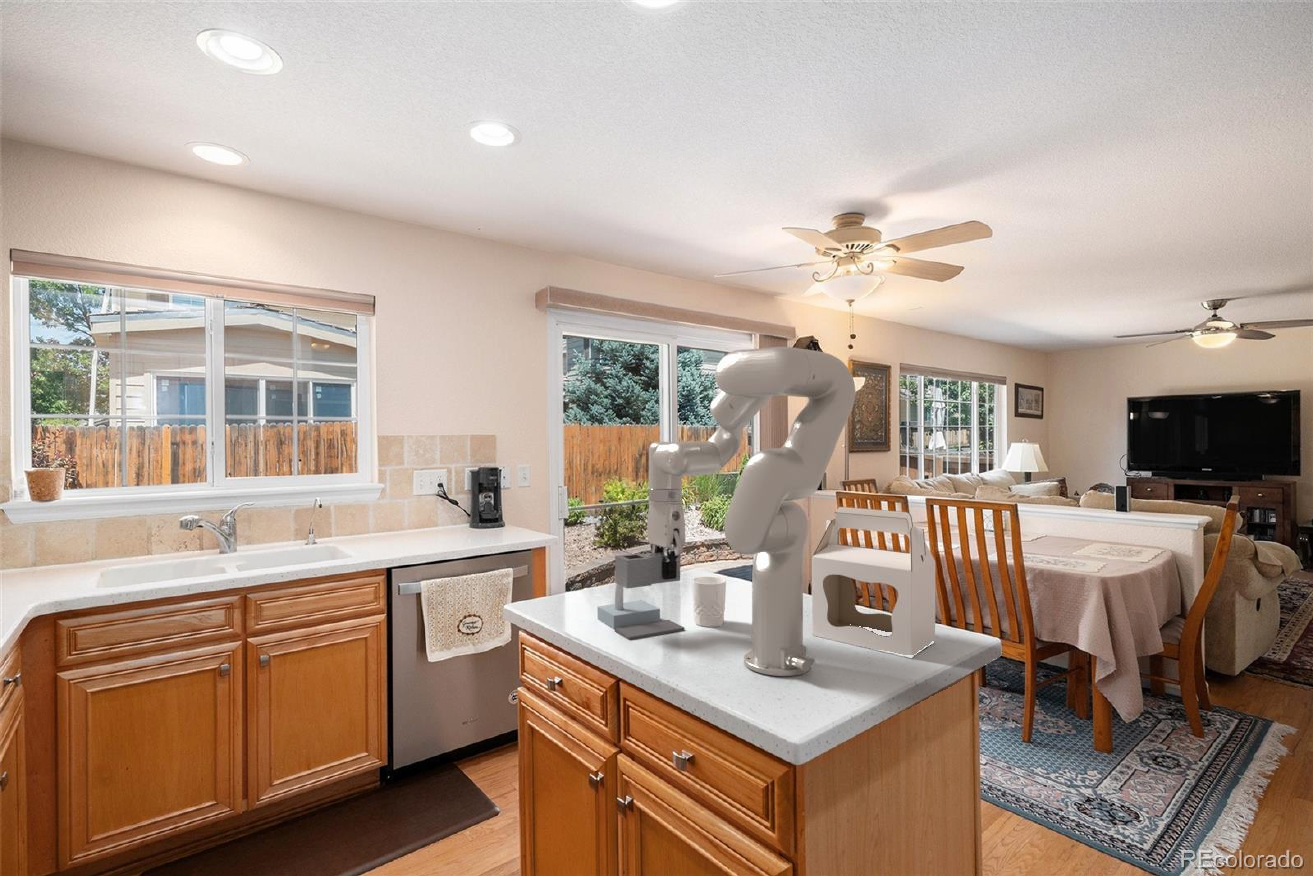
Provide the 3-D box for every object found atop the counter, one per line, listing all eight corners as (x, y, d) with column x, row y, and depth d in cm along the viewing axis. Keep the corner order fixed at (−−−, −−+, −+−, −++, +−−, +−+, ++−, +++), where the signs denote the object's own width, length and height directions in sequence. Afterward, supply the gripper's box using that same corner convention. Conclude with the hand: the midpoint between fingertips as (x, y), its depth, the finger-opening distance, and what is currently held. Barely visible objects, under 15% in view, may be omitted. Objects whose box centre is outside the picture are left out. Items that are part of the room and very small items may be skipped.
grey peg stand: (613, 629, 143) (613, 576, 143) (597, 619, 151) (597, 568, 151) (659, 621, 149) (660, 570, 149) (641, 612, 157) (642, 563, 157)
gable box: (810, 635, 139) (810, 508, 139) (838, 622, 149) (838, 503, 149) (912, 659, 124) (913, 516, 124) (936, 643, 134) (937, 510, 134)
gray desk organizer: (627, 588, 136) (627, 560, 136) (614, 582, 142) (615, 555, 141) (682, 581, 143) (682, 554, 143) (669, 576, 148) (669, 550, 148)
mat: (684, 630, 143) (684, 627, 143) (628, 640, 136) (628, 637, 136) (668, 622, 149) (668, 619, 149) (614, 631, 142) (614, 628, 142)
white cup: (725, 618, 152) (725, 577, 152) (726, 628, 144) (726, 584, 144) (692, 617, 153) (692, 576, 153) (691, 627, 145) (691, 583, 145)
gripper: (699, 499, 139) (698, 582, 139) (661, 492, 153) (660, 568, 153) (669, 500, 135) (668, 586, 135) (633, 493, 150) (632, 571, 150)
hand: (664, 575), depth 144 cm, fingers closed on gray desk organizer, 4 cm apart
